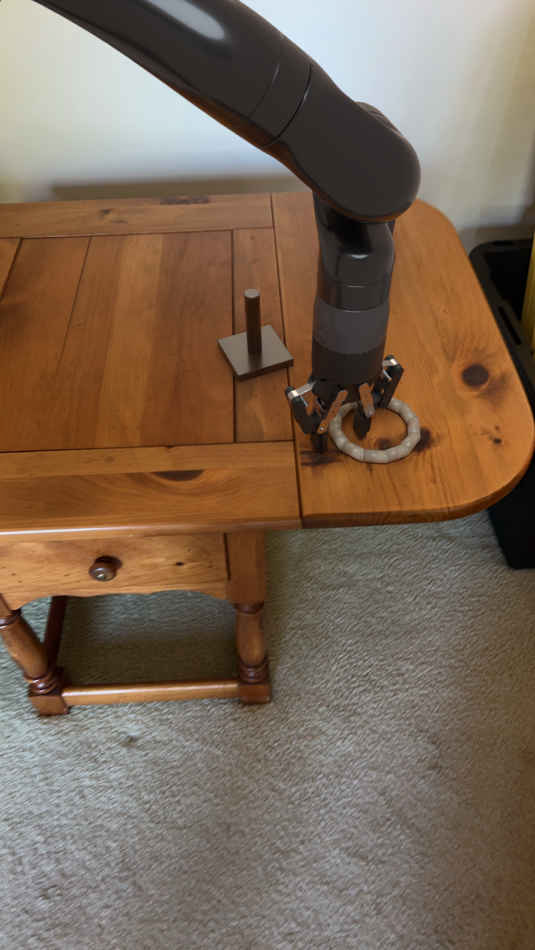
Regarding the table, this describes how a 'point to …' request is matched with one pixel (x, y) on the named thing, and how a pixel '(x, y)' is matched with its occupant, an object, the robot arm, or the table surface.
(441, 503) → the table surface
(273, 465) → the table surface
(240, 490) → the table surface
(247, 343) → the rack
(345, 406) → the ring
